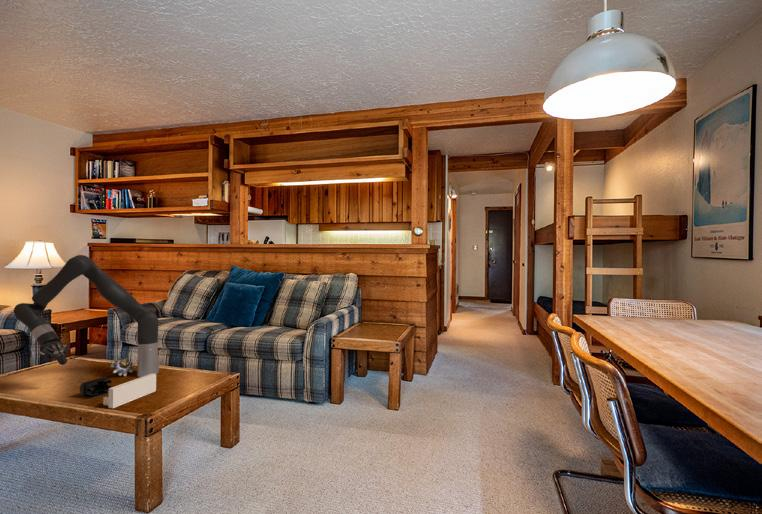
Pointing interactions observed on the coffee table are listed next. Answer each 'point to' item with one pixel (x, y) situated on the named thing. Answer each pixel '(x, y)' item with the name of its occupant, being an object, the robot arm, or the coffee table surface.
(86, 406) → the coffee table surface
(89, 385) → the end cap
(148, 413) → the coffee table surface
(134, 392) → the white board with feet
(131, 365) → the passion flower
